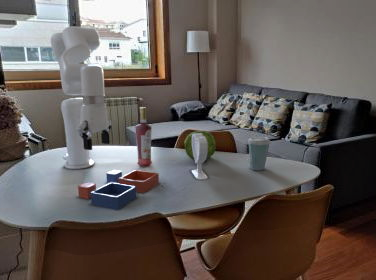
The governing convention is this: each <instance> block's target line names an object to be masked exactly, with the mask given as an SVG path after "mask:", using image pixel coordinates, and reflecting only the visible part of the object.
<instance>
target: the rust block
mask: <svg viewBox="0 0 376 280" xmlns="http://www.w3.org/2000/svg"><path fill="white" fill-rule="evenodd" d="M95 190H97V184H96V183H93V182H87V181H85V182H84V183H81V184H79V185H78V186H77V193H78V198H81V199H85V200H89V199H91V192H93V191H95Z"/></svg>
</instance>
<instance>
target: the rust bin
mask: <svg viewBox="0 0 376 280" xmlns="http://www.w3.org/2000/svg"><path fill="white" fill-rule="evenodd" d="M159 178H160V177H159V173H158V172H151V171H145V170H138V169H134V170H132V171H130V172H128V173H126V174H124V175H122V177H120V178H119V183H118V184H124V185H130V186H136V193H141V194H145V193H146V192H148V191H150V190H151V189H152V188H155V187H156V186H157V185H159V184H160V179H159Z"/></svg>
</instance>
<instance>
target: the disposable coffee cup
mask: <svg viewBox="0 0 376 280" xmlns="http://www.w3.org/2000/svg"><path fill="white" fill-rule="evenodd" d="M247 144H248V145H247V146H248V153H249V165H250V169H251V170H254V171H263V170H264V169H265V167H266V162H267V158H268V153H269V148H270V144H271V140H270V137H267V136H254V137H249V139H248V141H247Z"/></svg>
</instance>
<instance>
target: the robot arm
mask: <svg viewBox="0 0 376 280" xmlns="http://www.w3.org/2000/svg"><path fill="white" fill-rule="evenodd" d="M100 45H101V35H100V33H99V32H98V30H97V29H96V28H94V27H91V26H67V27H65V28H64V29H63V30H62V31H61V32H56V33H53V34H52V35H51V37H50V46H51V50H52V52H53V55H54V57H55V59H56V61H57V64H58V67H59V75H60V82H61V88H62V92H63V93H64V94H65V95H67V96H81V97H72V98H66V99H63V101H62V102H61V104H60V110H61V113H62V114H61V115H62V118H63V123H64V132H65V143H66V151H67V153H66V154H64V155H63V156H62V158H61V159H62V160H64V161H66V162H65V163H64V167H65V168H66V169H68V170H81V169H86V168H90V167H92V166H93V165H94V164H95V163H94V160H92V159H91V157H90V151H92V150H93V140H92V138H91V137H92V136H93V134H95V133H99V132H101V133H100V137H101V144H106V145H109V144H110V141H111V139H110V133H111V129H112V125H113V124H112V123H113V120H111V119H110V118H109V114H108V108H107V104H106V94H105V93H106V92H105V77H104V76H105V74H104V69H103V67H102V66H101V65H99V64H97V63H84V62H86V61H88V60H89V58H90V56H91V54H93V53H94V52H95V51H96V50H98V49H99V47H100Z"/></svg>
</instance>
